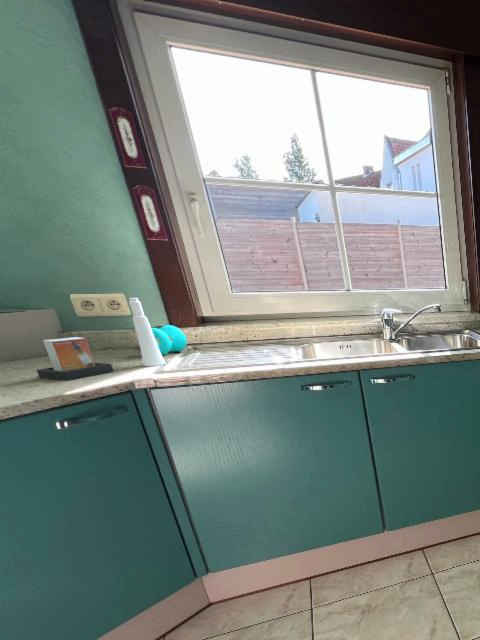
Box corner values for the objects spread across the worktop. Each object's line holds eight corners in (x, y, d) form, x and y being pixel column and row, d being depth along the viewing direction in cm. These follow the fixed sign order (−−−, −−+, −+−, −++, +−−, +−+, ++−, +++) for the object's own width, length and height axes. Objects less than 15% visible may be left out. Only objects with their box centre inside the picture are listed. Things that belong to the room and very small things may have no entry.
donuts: (143, 355, 182) (135, 328, 178) (167, 350, 191) (159, 324, 187) (170, 356, 181) (161, 328, 178) (191, 351, 191) (184, 325, 187)
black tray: (39, 378, 148) (36, 369, 147) (86, 369, 160) (83, 361, 159) (68, 380, 147) (65, 372, 146) (113, 371, 158) (111, 363, 157)
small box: (64, 376, 148) (50, 341, 145) (55, 374, 151) (41, 339, 147) (98, 371, 155) (86, 337, 151) (89, 369, 157) (77, 336, 153)
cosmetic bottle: (142, 364, 169) (120, 297, 160) (165, 362, 173) (145, 297, 164) (143, 367, 165) (121, 299, 156) (166, 364, 168) (146, 298, 160)
